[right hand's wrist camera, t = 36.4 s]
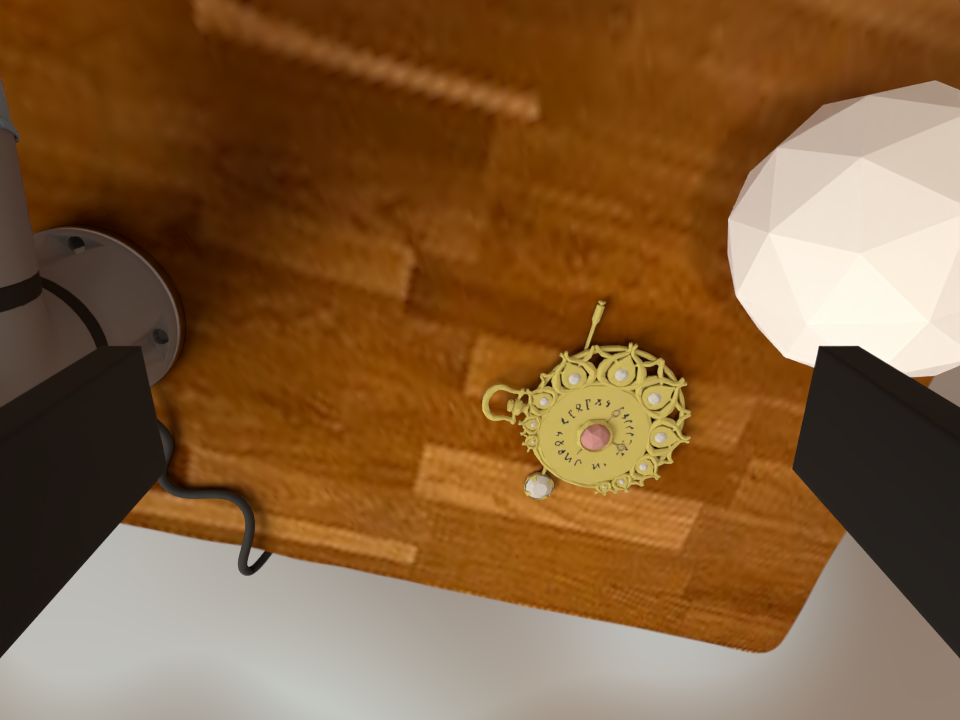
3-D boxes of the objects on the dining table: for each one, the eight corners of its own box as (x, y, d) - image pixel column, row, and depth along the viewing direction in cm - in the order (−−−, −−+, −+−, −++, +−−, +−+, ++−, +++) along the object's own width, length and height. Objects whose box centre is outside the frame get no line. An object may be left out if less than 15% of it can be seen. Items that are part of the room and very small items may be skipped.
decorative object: (656, 532, 60) (457, 495, 57) (649, 517, 62) (457, 481, 60) (741, 340, 53) (517, 287, 50) (729, 330, 55) (514, 279, 52)
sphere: (811, 243, 58) (948, 426, 48) (635, 233, 51) (750, 447, 40) (996, 48, 44) (1251, 249, 33) (788, -5, 36) (1031, 231, 26)
